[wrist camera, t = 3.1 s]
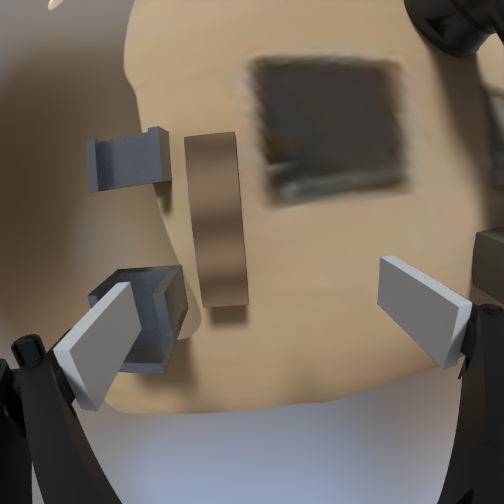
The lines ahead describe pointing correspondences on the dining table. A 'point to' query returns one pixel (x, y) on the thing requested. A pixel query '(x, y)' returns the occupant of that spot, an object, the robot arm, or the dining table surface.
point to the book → (489, 262)
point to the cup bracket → (151, 314)
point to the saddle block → (129, 160)
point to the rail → (217, 218)
